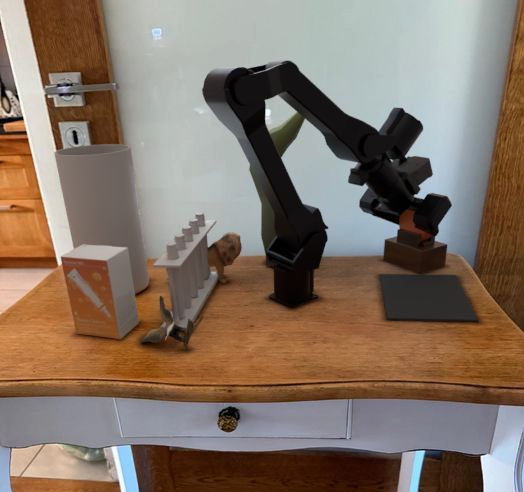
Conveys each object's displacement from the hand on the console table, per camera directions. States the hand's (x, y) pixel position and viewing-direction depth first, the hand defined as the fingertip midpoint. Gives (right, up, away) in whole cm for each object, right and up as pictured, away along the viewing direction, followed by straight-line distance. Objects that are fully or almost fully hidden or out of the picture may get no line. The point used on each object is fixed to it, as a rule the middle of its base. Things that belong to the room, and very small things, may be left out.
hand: (421, 229), depth 109 cm
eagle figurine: (-45, -23, -25) cm, 56 cm away
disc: (-1, -2, 0) cm, 3 cm away
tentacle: (-27, -6, +6) cm, 28 cm away
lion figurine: (-42, -10, -1) cm, 43 cm away
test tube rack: (-43, -15, -10) cm, 47 cm away
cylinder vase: (-59, -12, -4) cm, 60 cm away
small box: (-56, -20, -20) cm, 63 cm away
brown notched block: (-1, -6, +2) cm, 7 cm away
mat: (-3, -14, -13) cm, 19 cm away
